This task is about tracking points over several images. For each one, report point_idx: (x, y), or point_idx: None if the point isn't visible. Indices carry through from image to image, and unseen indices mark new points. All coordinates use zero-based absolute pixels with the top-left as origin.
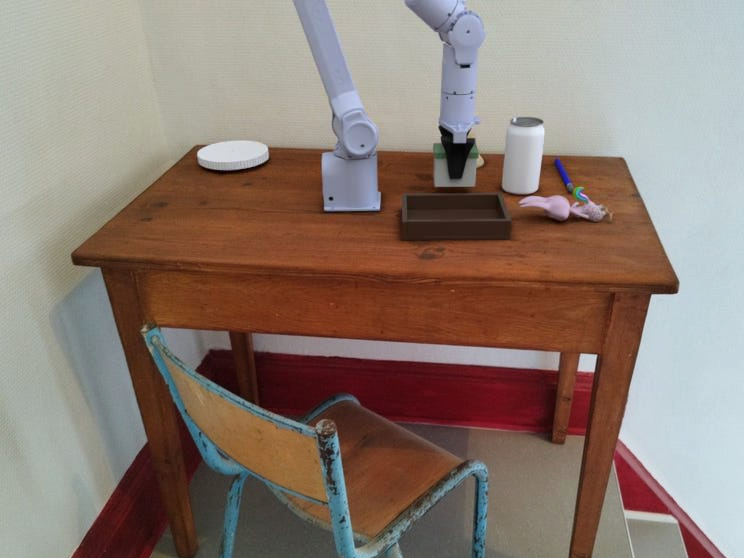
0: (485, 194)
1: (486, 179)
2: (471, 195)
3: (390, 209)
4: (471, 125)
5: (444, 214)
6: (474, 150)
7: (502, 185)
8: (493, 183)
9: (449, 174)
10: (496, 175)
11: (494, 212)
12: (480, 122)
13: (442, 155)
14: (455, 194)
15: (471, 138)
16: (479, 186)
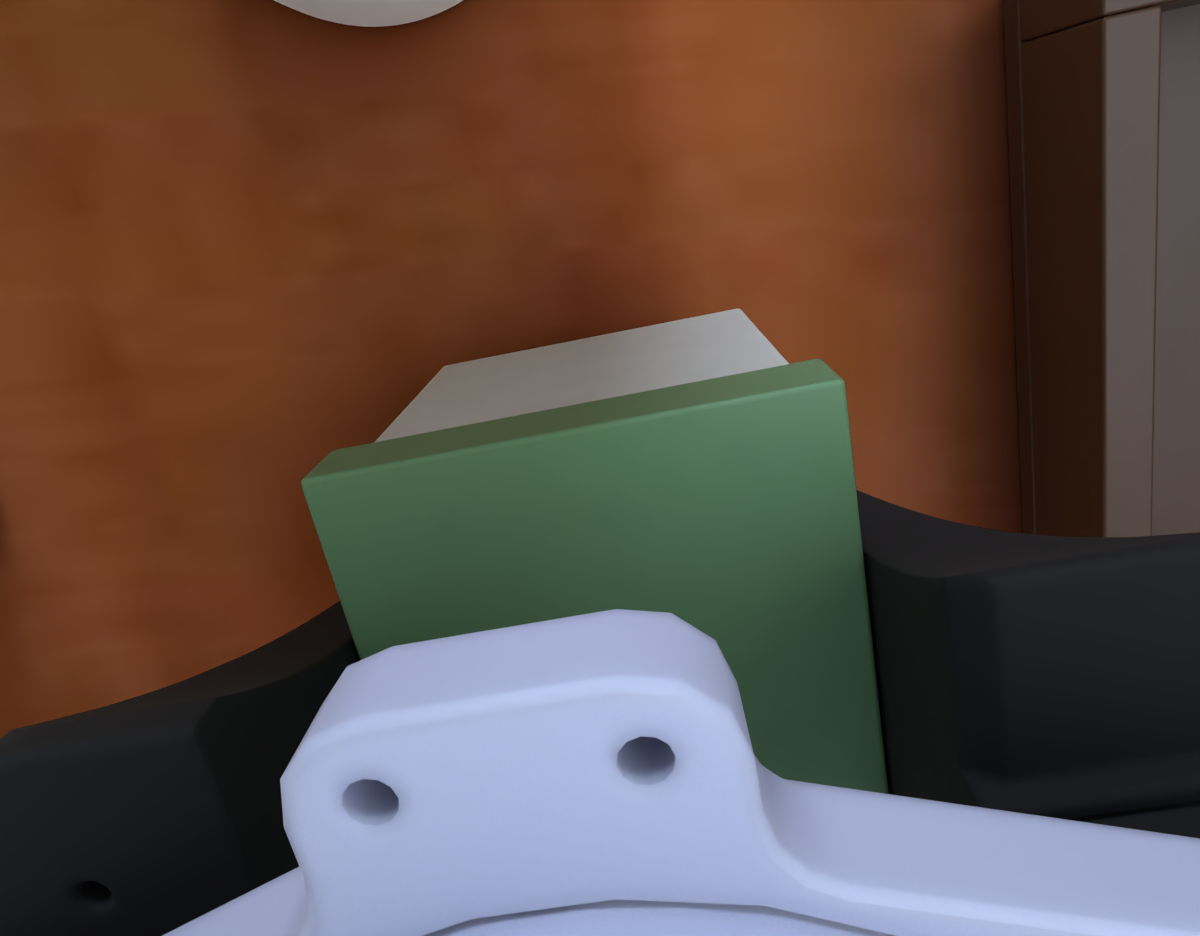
0: (1154, 159)
1: (166, 220)
2: (1149, 316)
3: None
4: (1178, 890)
5: (1194, 502)
6: (739, 461)
7: (426, 13)
8: (258, 136)
9: None
10: (12, 123)
11: (1164, 45)
12: (698, 649)
13: None
14: (1142, 481)
15: (1043, 642)
16: (380, 272)
